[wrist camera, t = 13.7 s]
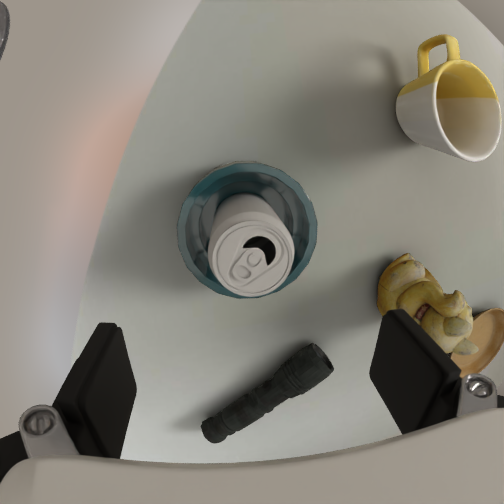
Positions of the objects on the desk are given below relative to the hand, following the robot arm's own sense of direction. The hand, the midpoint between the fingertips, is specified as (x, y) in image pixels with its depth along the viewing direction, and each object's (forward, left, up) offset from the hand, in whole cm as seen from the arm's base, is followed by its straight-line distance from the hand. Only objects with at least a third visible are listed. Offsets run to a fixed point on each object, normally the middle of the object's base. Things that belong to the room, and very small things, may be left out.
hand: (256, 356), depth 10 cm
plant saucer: (+41, -22, -25) cm, 53 cm away
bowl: (+1, -1, -25) cm, 25 cm away
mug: (+22, +14, -25) cm, 36 cm away
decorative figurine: (+21, -10, -25) cm, 34 cm away
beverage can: (+1, -1, -24) cm, 24 cm away
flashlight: (+3, -25, -25) cm, 35 cm away
